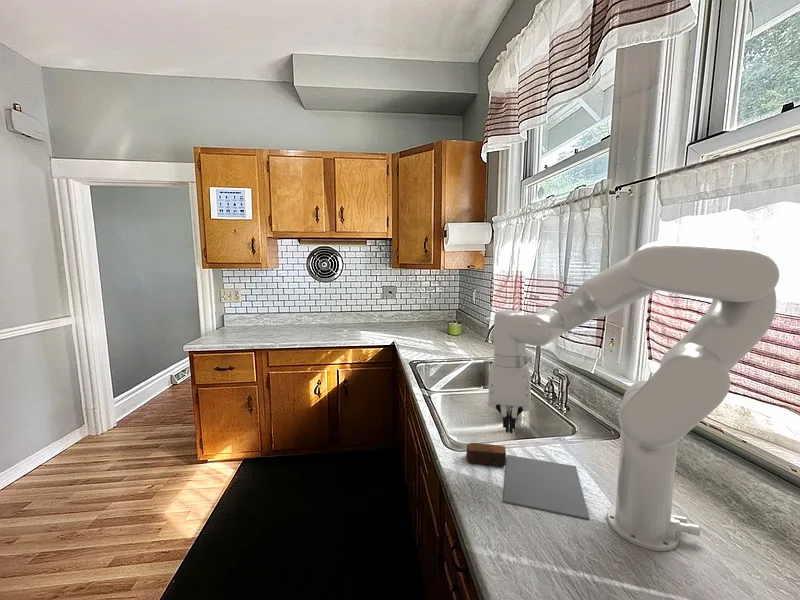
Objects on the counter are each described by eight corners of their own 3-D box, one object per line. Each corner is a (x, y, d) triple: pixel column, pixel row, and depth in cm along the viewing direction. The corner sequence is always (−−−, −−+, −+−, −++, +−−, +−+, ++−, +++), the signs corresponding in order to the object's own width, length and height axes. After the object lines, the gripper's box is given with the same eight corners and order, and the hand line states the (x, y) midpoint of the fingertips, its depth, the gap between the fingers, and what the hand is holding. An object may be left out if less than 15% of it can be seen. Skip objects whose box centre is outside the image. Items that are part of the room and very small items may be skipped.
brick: (505, 467, 97) (504, 458, 102) (506, 453, 97) (504, 445, 102) (466, 463, 100) (466, 454, 104) (466, 449, 99) (466, 441, 104)
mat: (575, 467, 98) (575, 466, 98) (589, 519, 78) (589, 518, 78) (507, 456, 104) (507, 454, 104) (503, 502, 84) (503, 500, 84)
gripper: (540, 358, 91) (539, 427, 93) (480, 354, 96) (480, 421, 97) (542, 366, 84) (541, 441, 85) (477, 362, 89) (477, 433, 90)
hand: (509, 430), depth 91 cm, fingers closed
